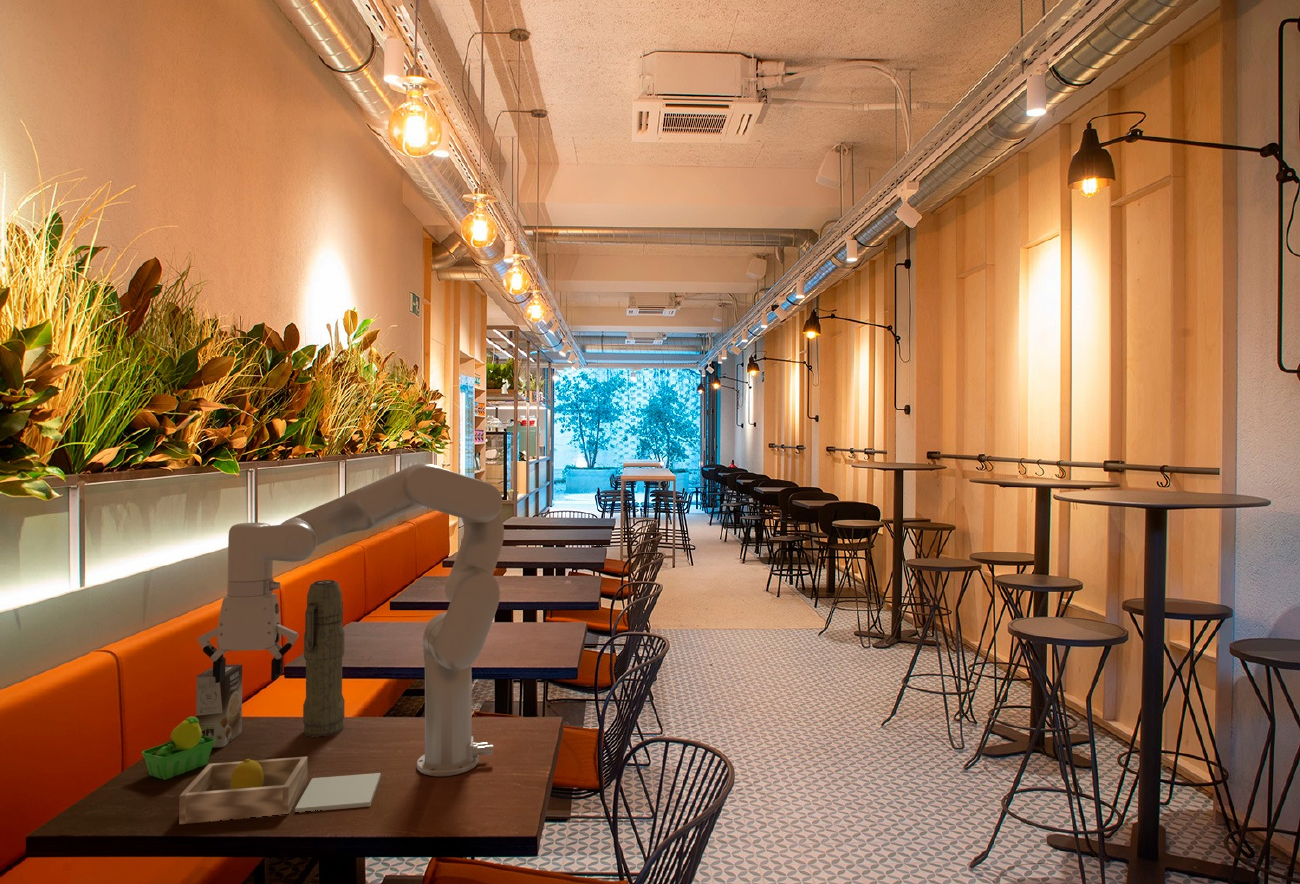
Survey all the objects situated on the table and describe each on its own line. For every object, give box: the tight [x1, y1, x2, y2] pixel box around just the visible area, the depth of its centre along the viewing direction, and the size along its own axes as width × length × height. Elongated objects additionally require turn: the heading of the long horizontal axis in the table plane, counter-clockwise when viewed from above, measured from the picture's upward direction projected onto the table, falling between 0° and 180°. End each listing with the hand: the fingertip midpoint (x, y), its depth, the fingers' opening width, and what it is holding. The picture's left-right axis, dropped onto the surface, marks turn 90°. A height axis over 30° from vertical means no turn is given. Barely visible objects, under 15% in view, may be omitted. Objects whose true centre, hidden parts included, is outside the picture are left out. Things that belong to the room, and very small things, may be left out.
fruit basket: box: [141, 716, 215, 781], centre depth 157 cm, size 11×9×11 cm
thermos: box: [302, 579, 346, 738], centre depth 180 cm, size 9×12×35 cm
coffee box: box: [195, 663, 243, 748], centre depth 174 cm, size 9×6×16 cm
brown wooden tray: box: [178, 756, 309, 825], centre depth 143 cm, size 18×14×5 cm
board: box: [294, 772, 382, 813], centre depth 146 cm, size 13×13×1 cm
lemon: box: [230, 758, 264, 789], centre depth 143 cm, size 6×6×8 cm
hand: (248, 679), depth 144 cm, fingers open, 9 cm apart
